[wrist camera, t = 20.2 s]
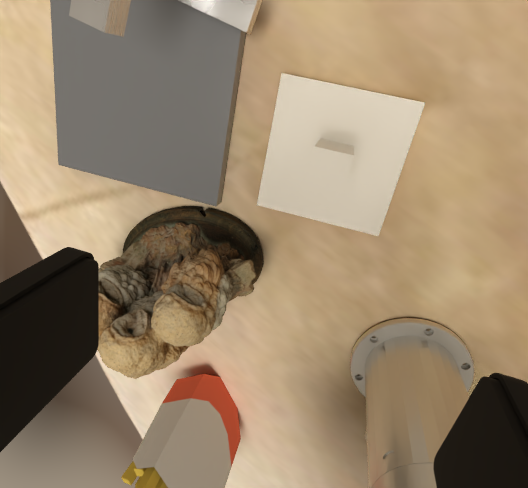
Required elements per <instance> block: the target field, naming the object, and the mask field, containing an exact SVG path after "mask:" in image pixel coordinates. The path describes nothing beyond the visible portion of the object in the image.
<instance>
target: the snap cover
mask: <svg viewBox="0 0 528 488" xmlns="http://www.w3.org/2000/svg"><path fill="white" fill-rule="evenodd" d="M424 105H425V102H420V101H415V100H410V99H405V98H400V97H396V96H391V95H386V94H381V93H376V92H372V91H367V90H362V89H357V88H352V87H347V86H343V85H338V84H333V83H328V82H323V81H319V80H314V79H309V78H304V77H299V76H294V75H290V74H285V73H282V74H281V79H280V84H279V90H278V95H277V100H276V106H275V111H274V116H273V122H272V127H271V132H270V138H269V143H268V148H267V153H266V159H265V164H264V169H263V175H262V180H261V185H260V191H259V196H258V201H257V205H258V206H262V207H266V208H270V209H274V210H278V211H282V212H285V213H289V214H293V215H297V216H301V217H305V218H309V219H313V220H317V221H320V222H324V223H328V224H332V225H336V226H340V227H344V228H348V229H352V230H355V231H359V232H363V233H367V234H371V235H375V236H379V233H380V230H381V228H382V225H383V222H384V219H385V216H386V213H387V211H388V208H389V205H390V202H391V199H392V196H393V193H394V191H395V188H396V185H397V182H398V179H399V176H400V174H401V171H402V168H403V165H404V162H405V159H406V156H407V154H408V151H409V148H410V145H411V142H412V139H413V137H414V134H415V131H416V128H417V125H418V122H419V119H420V117H421V114H422V111H423V108H424Z"/></svg>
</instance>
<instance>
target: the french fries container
mask: <svg viewBox="0 0 528 488" xmlns="http://www.w3.org/2000/svg"><path fill="white" fill-rule="evenodd" d="M240 439H241V438H240V429H239V419H238V410H237V407H236V405H235V403H234V401H233V400H232V398H231V396H230V394H229V392H228V391H227V389H226V387H225V385H224V383H223V381H222V380H221V378H220V377H218V376H212V375H207V374H201V375H196V376H191V377H186V378H182V379H177V380H176V382H175V383H174V385H173V386H172V388H171V390H170V391H169V393H168V395H167V396H166V398H165V399H164V401H163V403H162V404H161V406H160V408H159V410H158V412H157V414H156V416H155V418H154V420H153V422H152V423H151V425H150V427H149V429H148V431H147V433H146V435H145V437H144V439H143V441H142V443H141V445H140V446H139V448H138V450H137V452H136V454H135V456H134V458H133V462H132V463H131V465H130V466H129V467H128V469H127V470H126V472H125V473H124V474H123V476H122V477H121V478H122V480H123V481H124V482H125V483H127V484H130V485H131V484H132V483H133V482H134V480H135V479H136V477H137V476H140V477H139V479H138V481H137V483H136V484H135V486H136V487H135V488H225V485H226V482H227V479H228V476H229V473H230V470H231V467H232V464H233V460H234V457H235V454H236V451H237V448H238V445H239V442H240Z"/></svg>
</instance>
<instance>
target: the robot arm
mask: <svg viewBox="0 0 528 488" xmlns="http://www.w3.org/2000/svg"><path fill="white" fill-rule="evenodd" d="M98 345H99V269H98V263H97V262H96V261H95V260H94V257H93V255H92V254H91V253H88V252H85V251H81V250H78V249H75V248H71V247H67V248H64V249H62V250H60V251H58V252H56V253H55V254H53V255H51V256H49V257H47V258H45V259H44V260H42V261H40V262H38V263H37V264H34V265H33V266H31V267H29V268H27V269H25V270H23V271H22V272H20V273H18V274H16V275H14V276H13V277H11V278H9V279H7V280H5V281H3V282H2V283H0V452H1V451H2V450H3V449H4V448H5V447H6V446H7V445H8V444H9V443H10V442H11V441H12V440H13V439H14V437H16V435H17V434H18V433H19V432H20V431H21V430H22V429H23V428H24V427H25V426H26V425H27V424H28V423H29V422H30V421H31V420H32V419H33V418H34V417H35V416H36V415H37V414H38V413H39V412H40V411H41V410H42V409H43V408H44V407H45V406H46V405H47V404H48V403H49V402H50V401H51V400H52V399H53V398H54V397H55V396H56V395H57V394H58V393H59V392H60V390H61V389H62V388H63V387H64V386H65V385H66V384H67V383H68V382H69V381H70V380H71V379H72V378H73V377H74V376H75V375H76V374H77V373H78V372H79V371H80V370H81V369H82V368H83V367H84V366H85V365H86V364H87V363H88V362H89V361H90V360H91V359H92V358H93V356H94V355H95V353H96V351H97V349H98ZM350 369H351V376H352V379H353V381H354V384H355V385H356V387H357V389H358V390H359V392H360V393H361V394H362V395H363V396H364V397H365V398H366V425H367V430H366V432H365V439H366V441H367V456H368V486H369V488H528V384H527V382H525V381H523V380H520V379H516V378H513V377H509V376H506V375H503V374H499V373H493V374H492V375H490V376H489V377H482V378H481V379H480V381H479V382H478V384H477V385H476V387H475V389H474V391H473V392H472V394H471V396H470V397H469V395H468V393H467V392H468V391H469V390H470V387H471V385H472V383H473V379H474V363H473V360H472V358H471V355H470V353H469V351H468V349H467V347H466V345H465V344H464V342H463V341H462V340H461V339H460V338H459V337H458V336H457V335H456V334H455V333H453V332H452V331H451V330H449V329H448V328H446V327H444V326H442V325H440V324H437V323H434V322H431V321H428V320H423V319H417V318H401V319H394V320H389V321H386V322H383V323H380V324H378V325H376V326H374V327H372V328H370V329H369V330H368V331H367V332H365V333H364V334H363V335H362V336H361V337H360V338H359V340H358V341H357V342H356V344H355V346H354V348H353V350H352V354H351V359H350Z"/></svg>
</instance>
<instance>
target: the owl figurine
mask: <svg viewBox="0 0 528 488" xmlns="http://www.w3.org/2000/svg"><path fill="white" fill-rule="evenodd" d="M200 210H203V208H202V207H196V206H188V207H185V206H184V207H178V208H172V209H168V210H163V211H161V212H157V213H155V214H153V215H150V216H149V217H147V218H146V219H144V220H143V221H141V222H140V223H139V224H137V225H136V226H135V227H134V228H133V229H132V231H130V234H129V235H128V237H127V239H126V240H125V243H124V248H123V254H122V256H121V257H118V258H116V259H113V260H109V262H105V263H103V264H102V265H101V268H99V345H98V349H97V350H98V351H99V353H100V355H101V356H100V357H101V358H102V361H103V362H104V363H105V365H107V367H108V368H111V369H113V370H115V371H118V372H121V373H122V374H124V375H126V376H127V377H131V378H134V379H136V378H139V377H141V376H143V375H147V374H150V373H152V372H154V371H155V370H160V369H163V368H166V367H167V366H168V365H170V364H171V363H173V362H175V361H177V360H178V359H179V357H180V355H181V354H182V352H185V351H186V349H187V348H188V347H189V346H192V345H195V344H198V343H200V342H202V341H203V339H204V337H206V336H208V335H209V334H210V333H211V331H212V330H214V329H215V328H217V327H218V326H220V324H221V322H222V317H223V315H224V313H225V311H226V304H227V302H228V301H230V300H232V299H234V298H236V297H237V296H246V295H248V294H250V293H251V292H253V290H254V286H253V284H254V283H255V282H256V281H257V279H258V277H259V275H260V273H261V270H262V267H263V254H262V249H261V246H260V244H259V241H258V238H257V237H256V235H255V233H254V232H253V231H252V230H251V229H250V228H249V227H248V226H247V225H246V224H245V223H243V222H242V221H241V220H240V219H238V218H237V217H234V216H232V215H230V214H228V213H226V212H222V211H217V210H215V209H212V208H208V209H206V210H205V214H206V216H205V217H204V216H203V215H202V214H201V213H200Z"/></svg>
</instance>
